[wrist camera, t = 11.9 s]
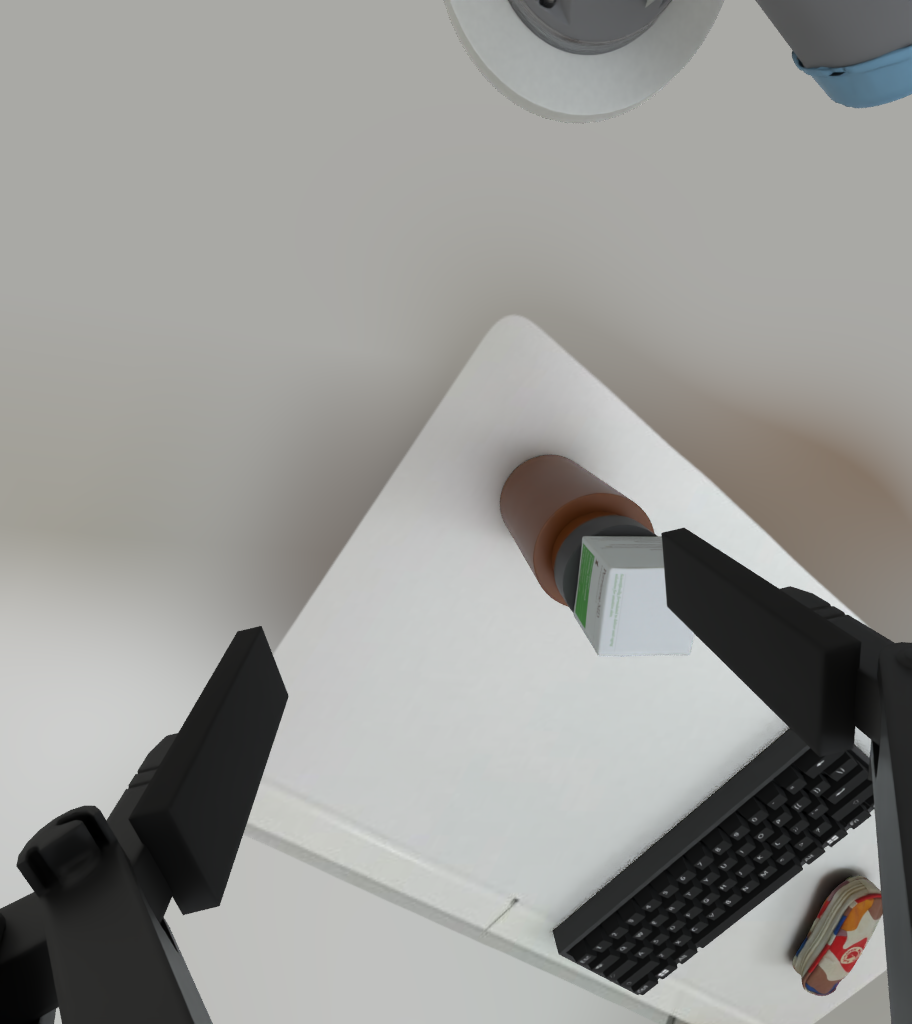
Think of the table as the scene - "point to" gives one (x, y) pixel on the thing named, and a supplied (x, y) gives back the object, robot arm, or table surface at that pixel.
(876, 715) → the robot arm
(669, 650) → the small box
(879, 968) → the table surface
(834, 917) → the pencil case
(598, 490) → the bottle
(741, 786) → the computer keyboard
